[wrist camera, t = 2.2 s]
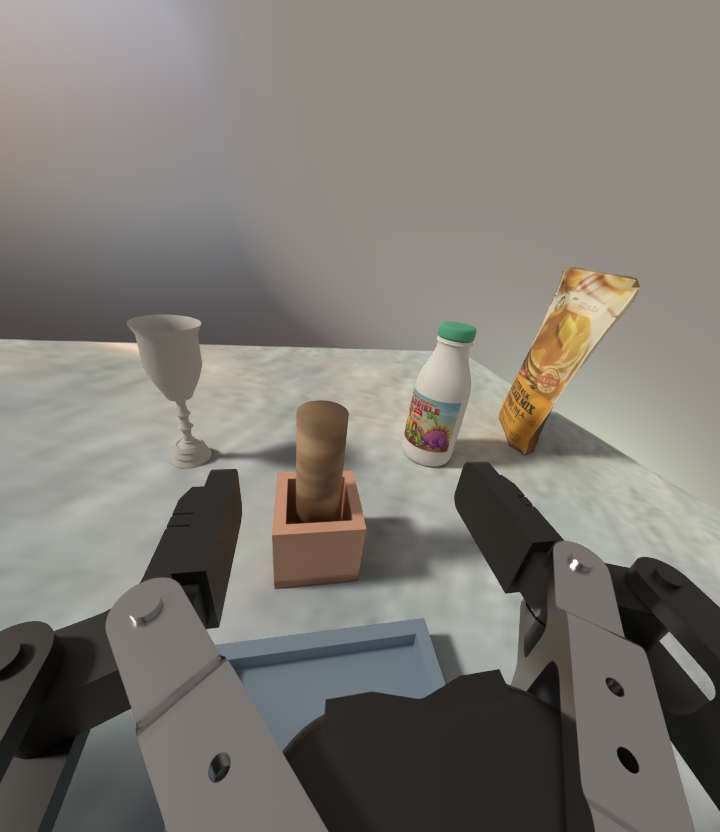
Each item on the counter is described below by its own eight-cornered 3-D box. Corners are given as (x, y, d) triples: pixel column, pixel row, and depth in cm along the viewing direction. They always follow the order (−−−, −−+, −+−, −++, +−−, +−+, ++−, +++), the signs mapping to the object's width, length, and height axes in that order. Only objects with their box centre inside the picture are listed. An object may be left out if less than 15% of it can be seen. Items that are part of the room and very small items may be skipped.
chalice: (230, 456, 43) (214, 325, 34) (181, 481, 38) (147, 335, 29) (200, 436, 46) (178, 312, 38) (151, 456, 41) (113, 318, 33)
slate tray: (146, 969, 13) (132, 969, 12) (210, 663, 23) (205, 646, 21) (486, 864, 16) (501, 855, 15) (417, 634, 26) (423, 618, 24)
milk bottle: (418, 434, 54) (446, 315, 44) (459, 455, 49) (499, 329, 40) (391, 450, 49) (416, 320, 39) (433, 475, 44) (473, 336, 34)
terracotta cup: (274, 588, 28) (272, 535, 24) (279, 521, 34) (277, 472, 31) (357, 580, 29) (366, 529, 26) (347, 517, 36) (352, 470, 32)
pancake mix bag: (525, 412, 66) (586, 268, 52) (554, 466, 50) (654, 276, 36) (492, 406, 67) (544, 263, 53) (511, 457, 50) (592, 268, 37)
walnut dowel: (295, 561, 29) (296, 425, 22) (295, 527, 33) (296, 400, 25) (337, 558, 30) (352, 425, 23) (333, 525, 33) (345, 401, 26)
